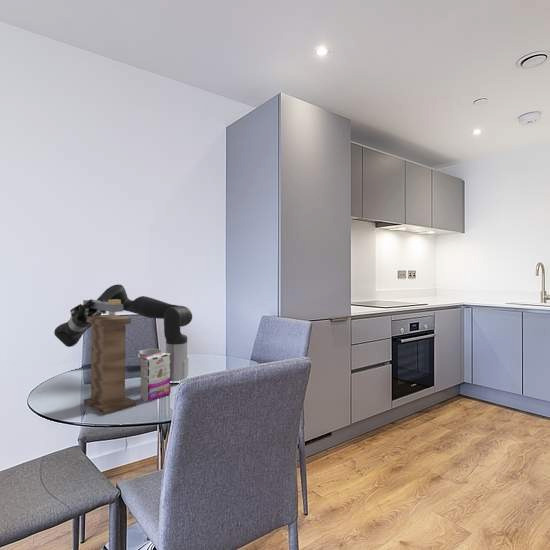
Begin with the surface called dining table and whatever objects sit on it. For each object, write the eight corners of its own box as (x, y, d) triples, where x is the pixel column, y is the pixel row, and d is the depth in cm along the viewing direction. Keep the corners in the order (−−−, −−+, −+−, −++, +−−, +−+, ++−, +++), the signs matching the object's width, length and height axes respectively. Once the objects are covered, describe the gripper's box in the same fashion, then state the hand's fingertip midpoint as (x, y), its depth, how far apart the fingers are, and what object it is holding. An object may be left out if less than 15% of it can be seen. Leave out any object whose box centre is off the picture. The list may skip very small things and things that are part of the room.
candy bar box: (162, 391, 156) (162, 351, 155) (170, 394, 153) (171, 353, 153) (139, 399, 146) (139, 357, 146) (148, 402, 144) (148, 359, 143)
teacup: (166, 366, 195) (166, 350, 195) (148, 370, 186) (148, 354, 186) (147, 362, 203) (148, 347, 202) (130, 366, 194) (130, 350, 193)
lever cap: (83, 306, 151) (83, 296, 151) (93, 305, 154) (93, 295, 154) (112, 312, 135) (112, 300, 135) (123, 311, 138) (123, 300, 138)
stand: (83, 402, 142) (83, 316, 141) (114, 394, 151) (115, 314, 151) (104, 414, 131) (105, 321, 130) (136, 405, 140) (137, 318, 139)
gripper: (60, 312, 152) (76, 293, 143) (96, 309, 163) (113, 291, 153) (64, 329, 150) (80, 311, 140) (100, 326, 161) (118, 308, 151)
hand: (98, 301), depth 147 cm, fingers closed on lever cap, 4 cm apart
